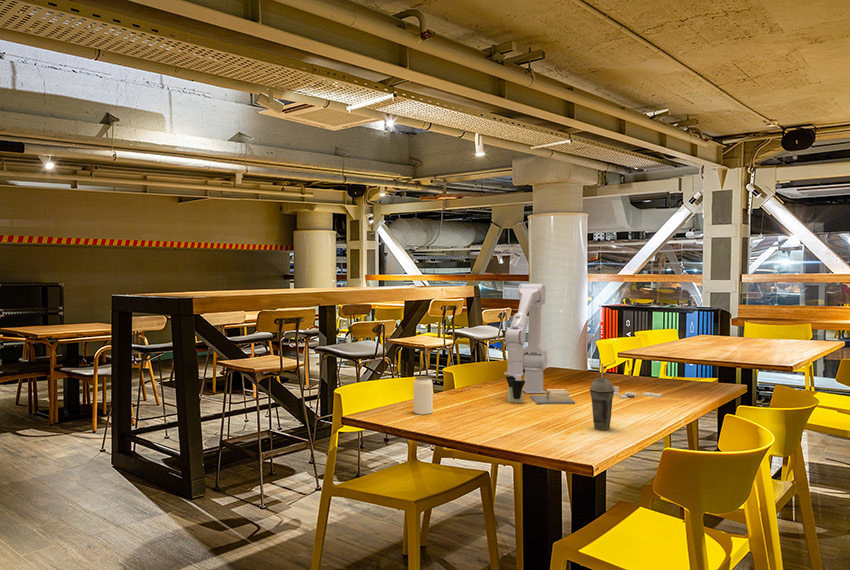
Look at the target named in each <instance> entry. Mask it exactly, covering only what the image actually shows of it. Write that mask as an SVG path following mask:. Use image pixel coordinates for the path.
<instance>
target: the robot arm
mask: <svg viewBox="0 0 850 570" xmlns="http://www.w3.org/2000/svg"><path fill="white" fill-rule="evenodd" d="M517 289H518V290H517V295H518V298H519V305H518V311H517V312H516V313H514V315H513V317H512V319H511V323H510V327H509V329H507V330H506V331H505V335H504V341H505V347H506V349H507V371H505V372H504V373H503V374H504V375H505V379H506V382H507V384H508V387H512V390H513V397H514V399H520V397H521V392H522V389H523V393H524V392H525V394H546V390H544V370H545V369H547V367H548V364H549V363H548V361H549V360H548V352H547V350H546V349H545V348H544V347H543V346H542V345H541V330H542V329H541V326H542V325H541V323H542V322H541V321H542V320H541V319H542V306H543V305H545V304H546V299H547V296H546V292H547V291H546V289H547V288H546V286H545V285H544V283H519V285H518V288H517ZM527 325H528V334H527V331H526V329H527ZM526 334H527V335H528V338H527V346H526V347H524V344H525V342H526ZM522 377H524V378H523V379H524V380H523V379H522Z"/></svg>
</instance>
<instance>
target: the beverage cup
mask: <svg viewBox="0 0 850 570" xmlns="http://www.w3.org/2000/svg"><path fill="white" fill-rule="evenodd" d="M600 369H601V373H600V374H601V375H600V377H597V378H595V379H594V380H593V381H592V382H591V385H590V387H589V394H590V397H591V406H592V408H591V409H592V410H591V411H592V420H593V428H594V429H595V430H597V431H609V430H610V428H611V427H610V426H611V422H612V421H611V418H612V410H613V409H612V408H613V398H614V397H615V395H614V387H613V386H614V384H613V383H612V381H611V380H610V379H608V378H606V377H604V364H603V363H601V368H600Z"/></svg>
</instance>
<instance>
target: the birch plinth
mask: <svg viewBox="0 0 850 570" xmlns="http://www.w3.org/2000/svg"><path fill="white" fill-rule="evenodd" d="M545 392H546V393H545V395H546V397H547V398H548V399H549V400H550V401H557V400H569V398H570V391H568V390H567V389H565V388H562V389H561V388H546V390H545Z"/></svg>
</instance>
